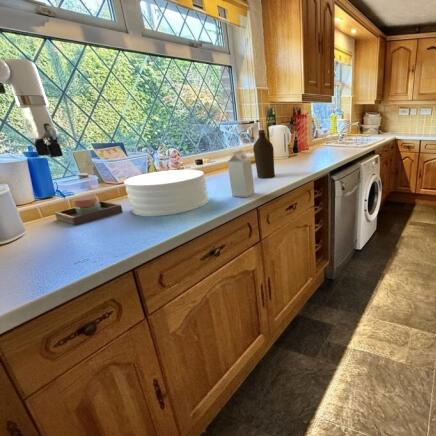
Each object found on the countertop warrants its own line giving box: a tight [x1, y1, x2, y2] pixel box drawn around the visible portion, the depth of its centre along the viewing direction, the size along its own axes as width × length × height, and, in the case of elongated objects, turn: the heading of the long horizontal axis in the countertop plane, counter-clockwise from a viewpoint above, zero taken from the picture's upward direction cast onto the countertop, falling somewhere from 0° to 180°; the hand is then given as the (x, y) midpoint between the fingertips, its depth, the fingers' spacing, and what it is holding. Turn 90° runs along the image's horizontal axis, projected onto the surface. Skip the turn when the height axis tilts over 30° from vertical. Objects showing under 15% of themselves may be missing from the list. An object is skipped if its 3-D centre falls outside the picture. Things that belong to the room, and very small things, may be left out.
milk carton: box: [227, 149, 255, 198], centre depth 129 cm, size 7×7×19 cm
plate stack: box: [123, 169, 209, 217], centre depth 120 cm, size 28×28×12 cm
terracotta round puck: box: [72, 194, 100, 208], centre depth 110 cm, size 7×7×3 cm
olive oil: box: [252, 129, 276, 179], centre depth 163 cm, size 11×11×25 cm
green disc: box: [74, 203, 102, 215], centre depth 111 cm, size 7×7×3 cm
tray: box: [54, 200, 124, 226], centre depth 111 cm, size 16×14×3 cm
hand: (50, 155), depth 103 cm, fingers open, 9 cm apart
